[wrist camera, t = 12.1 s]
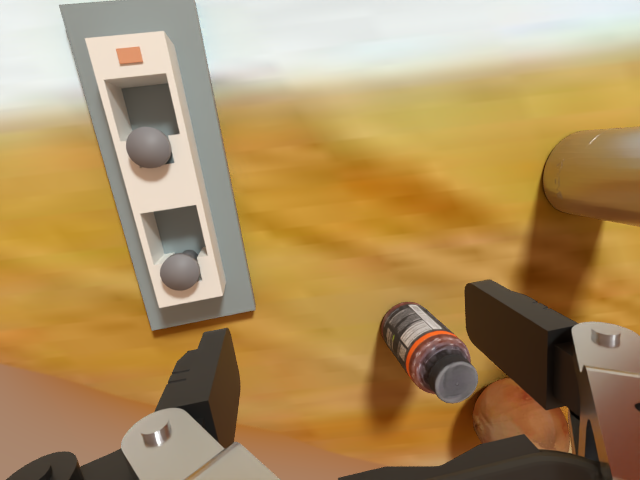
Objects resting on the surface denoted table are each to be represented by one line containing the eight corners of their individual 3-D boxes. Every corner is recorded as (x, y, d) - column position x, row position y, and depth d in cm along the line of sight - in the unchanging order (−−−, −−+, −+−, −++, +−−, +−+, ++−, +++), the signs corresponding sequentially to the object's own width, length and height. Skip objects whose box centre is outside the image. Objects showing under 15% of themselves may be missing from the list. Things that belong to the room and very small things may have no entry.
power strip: (174, 45, 29) (163, 30, 26) (226, 282, 34) (222, 296, 31) (104, 51, 28) (83, 37, 25) (168, 292, 34) (158, 308, 30)
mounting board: (195, 2, 30) (180, -35, 24) (255, 303, 37) (255, 331, 31) (68, 12, 29) (20, -25, 23) (156, 323, 36) (136, 356, 30)
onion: (532, 412, 47) (602, 477, 38) (464, 440, 46) (518, 515, 37) (521, 351, 45) (593, 405, 35) (449, 380, 44) (504, 444, 34)
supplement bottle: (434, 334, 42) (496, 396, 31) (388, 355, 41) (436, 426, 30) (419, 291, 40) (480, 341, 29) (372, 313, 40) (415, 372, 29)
